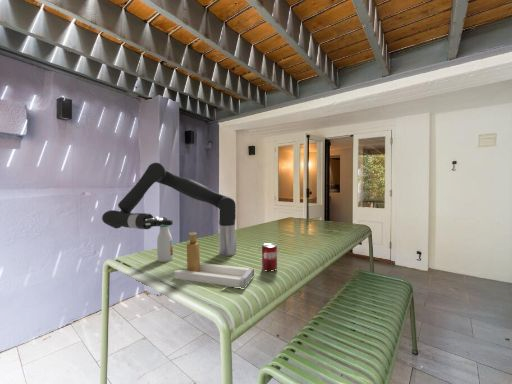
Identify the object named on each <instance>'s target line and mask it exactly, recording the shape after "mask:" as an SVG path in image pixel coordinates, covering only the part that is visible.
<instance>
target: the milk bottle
mask: <svg viewBox="0 0 512 384" xmlns="http://www.w3.org/2000/svg"><path fill="white" fill-rule="evenodd" d="M159 228H160V230H159V233H158V235H157V239H156V240H157V241H156V243H157V250H156V251H157V261H158V262H159V263H166V262H167V261H168V262H170V261H172V260H173V257H174V254H173V253H174V250H173V249H174V248H173V247H174V246H173V237H172V236H173V235H172V234H171V231H170V229H169V228H170V225H163V226H162V225H160V226H159ZM168 262H167V263H168Z"/></svg>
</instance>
